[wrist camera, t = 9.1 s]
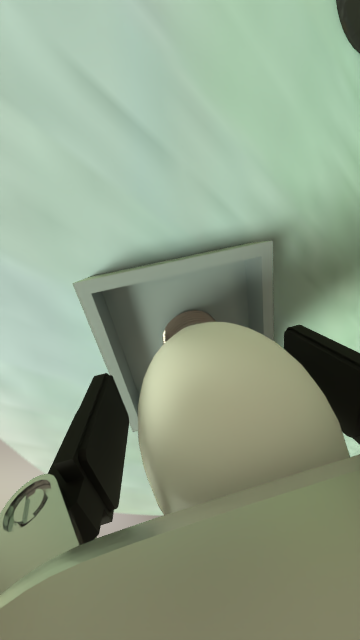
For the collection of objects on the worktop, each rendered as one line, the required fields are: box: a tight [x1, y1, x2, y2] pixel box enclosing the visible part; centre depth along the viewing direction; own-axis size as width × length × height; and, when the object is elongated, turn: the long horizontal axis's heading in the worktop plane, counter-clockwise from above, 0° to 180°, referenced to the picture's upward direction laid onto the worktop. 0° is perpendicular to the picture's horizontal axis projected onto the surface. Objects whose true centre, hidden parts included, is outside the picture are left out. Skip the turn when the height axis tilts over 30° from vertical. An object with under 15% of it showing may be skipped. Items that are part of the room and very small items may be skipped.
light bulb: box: [138, 310, 350, 515], centre depth 9 cm, size 7×7×11 cm
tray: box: [72, 240, 274, 432], centre depth 13 cm, size 11×11×3 cm
